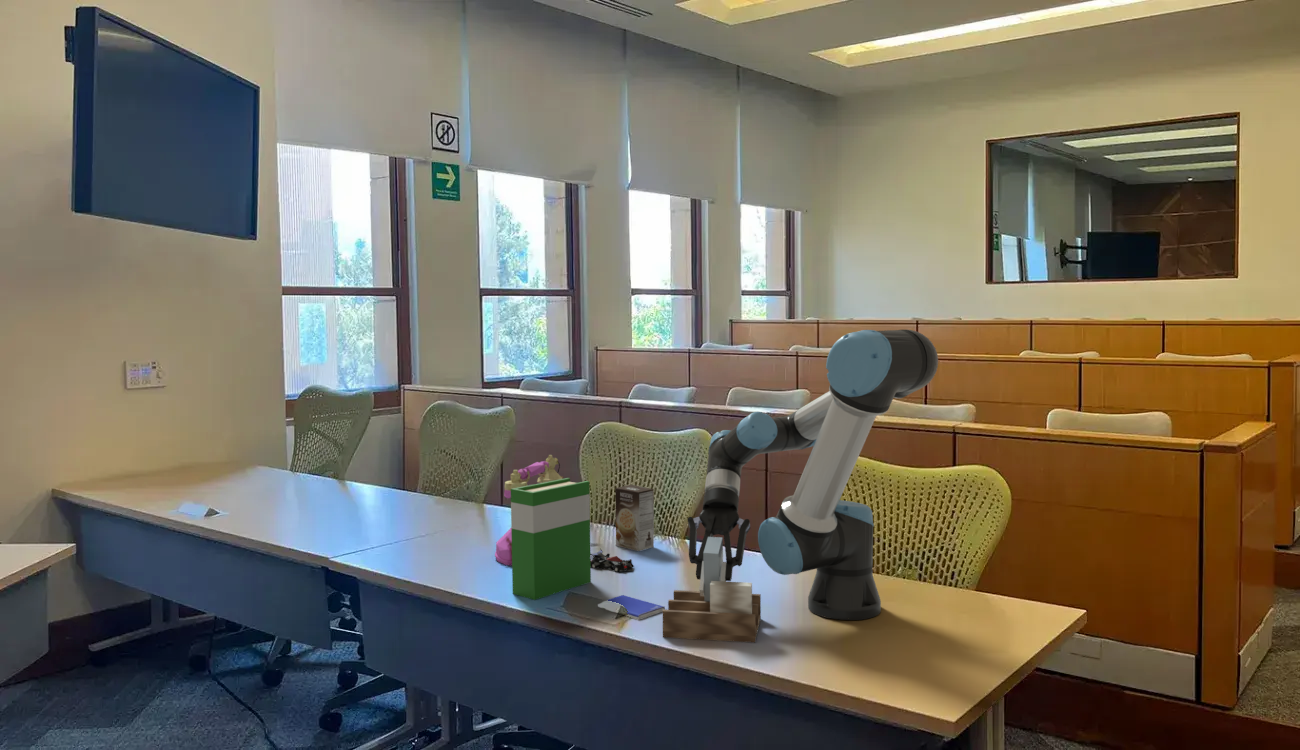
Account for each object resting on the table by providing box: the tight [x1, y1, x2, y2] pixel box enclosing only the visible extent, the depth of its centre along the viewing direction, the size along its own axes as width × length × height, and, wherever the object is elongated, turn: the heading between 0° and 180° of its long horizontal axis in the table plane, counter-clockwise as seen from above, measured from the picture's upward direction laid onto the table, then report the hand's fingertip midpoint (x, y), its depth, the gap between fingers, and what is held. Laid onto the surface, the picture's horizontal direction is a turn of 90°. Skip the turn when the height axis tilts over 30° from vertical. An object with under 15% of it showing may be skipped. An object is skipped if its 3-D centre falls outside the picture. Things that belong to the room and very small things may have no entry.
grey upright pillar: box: [703, 536, 724, 602], centre depth 192 cm, size 3×7×12 cm, turn 169°
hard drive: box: [607, 594, 666, 621], centre depth 203 cm, size 2×8×12 cm
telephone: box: [494, 454, 565, 566], centre depth 250 cm, size 36×22×25 cm, turn 161°
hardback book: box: [510, 477, 592, 601], centre depth 218 cm, size 18×7×24 cm, turn 139°
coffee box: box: [614, 484, 655, 552], centre depth 255 cm, size 9×6×16 cm
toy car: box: [590, 548, 635, 573], centre depth 235 cm, size 6×12×4 cm, turn 58°
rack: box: [662, 581, 762, 643], centre depth 190 cm, size 18×14×10 cm
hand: (712, 593), depth 189 cm, fingers open, 3 cm apart
